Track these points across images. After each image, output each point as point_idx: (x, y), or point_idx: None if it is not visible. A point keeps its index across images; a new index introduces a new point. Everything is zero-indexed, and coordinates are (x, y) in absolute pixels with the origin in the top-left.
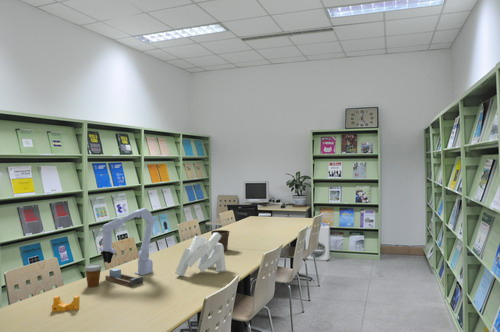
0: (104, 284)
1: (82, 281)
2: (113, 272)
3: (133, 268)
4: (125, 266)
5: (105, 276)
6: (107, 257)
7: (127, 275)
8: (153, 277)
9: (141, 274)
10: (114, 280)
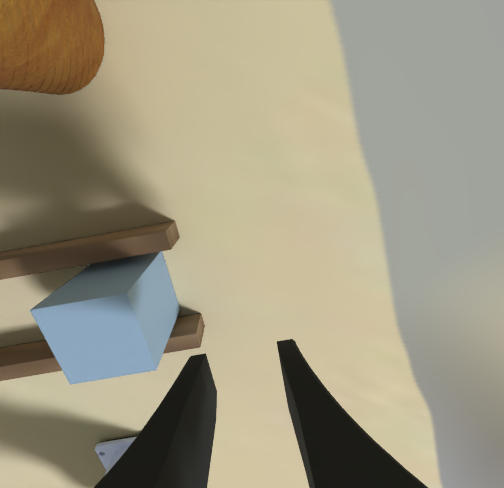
0: (20, 142)
1: (280, 10)
2: (60, 296)
3: (303, 463)
4: (389, 452)
5: (167, 229)
6: (129, 461)
7: (49, 368)
8: (10, 461)
9: (108, 443)
10: (38, 248)
